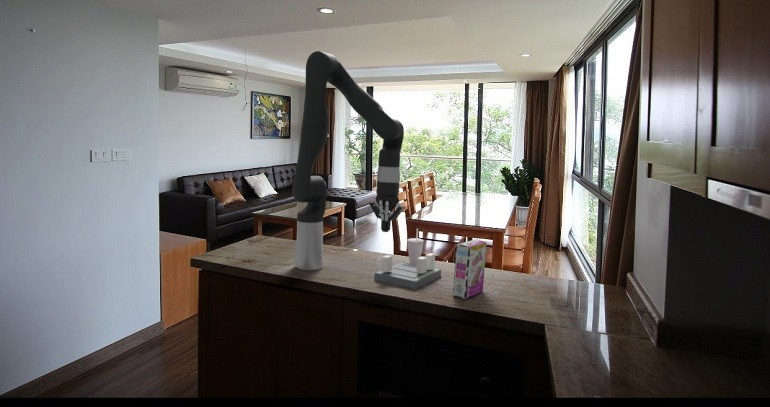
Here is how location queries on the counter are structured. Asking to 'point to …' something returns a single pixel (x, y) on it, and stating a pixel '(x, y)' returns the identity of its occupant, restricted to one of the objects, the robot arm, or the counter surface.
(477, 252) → the candy bar box
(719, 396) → the counter surface
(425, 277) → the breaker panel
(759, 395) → the counter surface
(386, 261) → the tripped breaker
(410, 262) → the smoothie
